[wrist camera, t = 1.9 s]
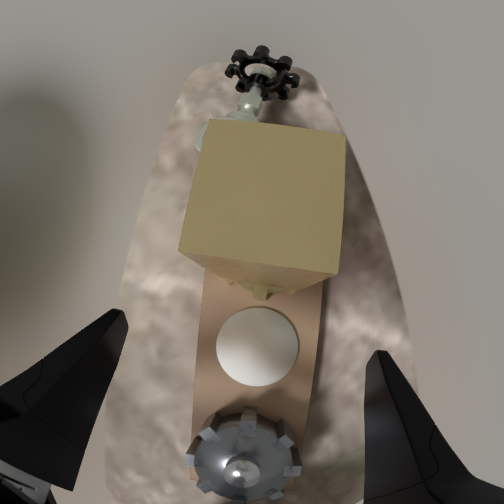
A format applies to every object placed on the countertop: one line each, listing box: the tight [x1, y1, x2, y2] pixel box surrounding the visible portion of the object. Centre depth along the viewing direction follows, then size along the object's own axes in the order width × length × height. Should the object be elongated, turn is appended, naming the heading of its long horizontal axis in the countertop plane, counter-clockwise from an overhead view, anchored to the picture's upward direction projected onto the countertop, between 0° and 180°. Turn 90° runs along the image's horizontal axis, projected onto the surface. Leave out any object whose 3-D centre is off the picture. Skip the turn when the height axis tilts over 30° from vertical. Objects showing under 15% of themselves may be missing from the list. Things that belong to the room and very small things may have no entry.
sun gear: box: [186, 405, 302, 504], centre depth 16 cm, size 8×8×4 cm
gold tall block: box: [178, 119, 346, 301], centre depth 15 cm, size 7×7×12 cm
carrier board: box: [190, 268, 323, 491], centre depth 20 cm, size 24×9×1 cm, turn 174°
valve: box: [194, 45, 300, 157], centre depth 21 cm, size 7×7×12 cm
